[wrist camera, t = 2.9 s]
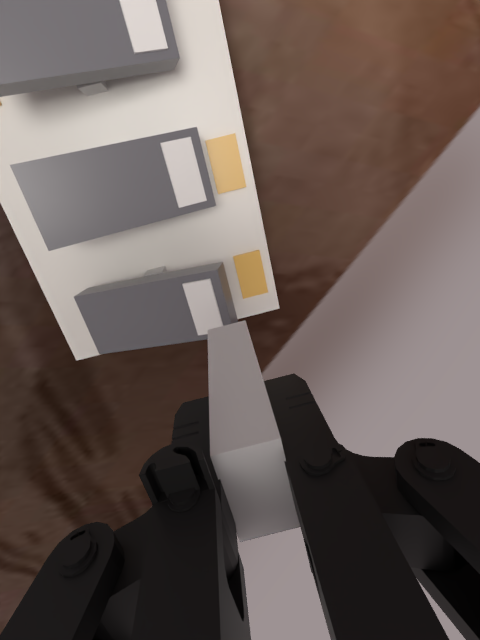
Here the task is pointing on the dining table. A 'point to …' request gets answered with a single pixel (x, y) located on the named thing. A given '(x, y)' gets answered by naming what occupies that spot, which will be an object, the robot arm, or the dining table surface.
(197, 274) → the switch
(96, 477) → the dining table surface
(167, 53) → the switch
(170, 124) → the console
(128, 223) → the switch
